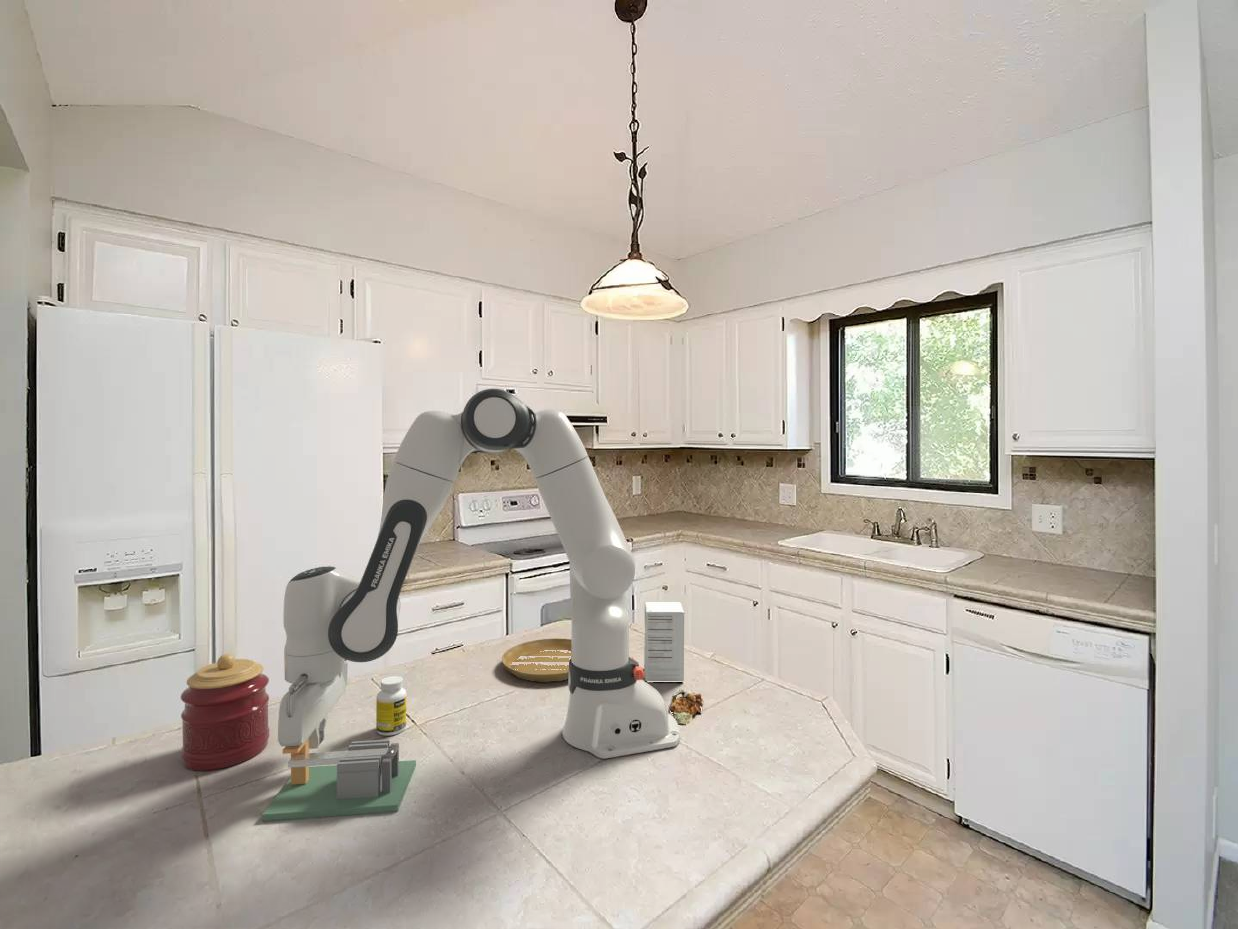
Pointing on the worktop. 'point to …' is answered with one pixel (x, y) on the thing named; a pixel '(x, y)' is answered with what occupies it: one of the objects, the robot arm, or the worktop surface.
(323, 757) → the strap
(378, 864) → the worktop surface
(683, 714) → the pastry
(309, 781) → the heatsink base
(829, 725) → the worktop surface
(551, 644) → the plant saucer
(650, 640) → the supplement box
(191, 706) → the canister
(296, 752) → the bracket
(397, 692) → the supplement bottle
